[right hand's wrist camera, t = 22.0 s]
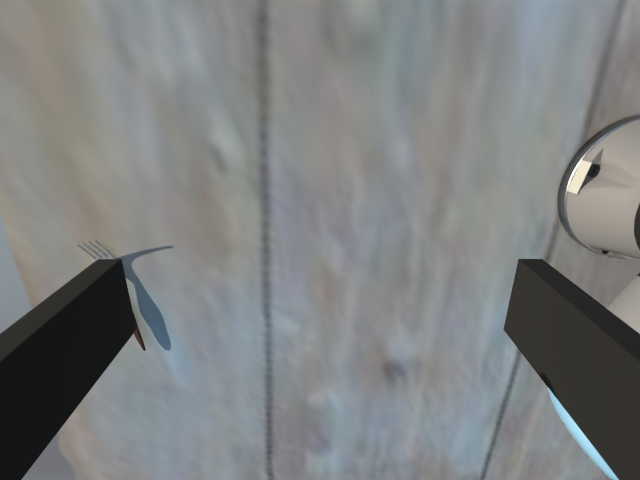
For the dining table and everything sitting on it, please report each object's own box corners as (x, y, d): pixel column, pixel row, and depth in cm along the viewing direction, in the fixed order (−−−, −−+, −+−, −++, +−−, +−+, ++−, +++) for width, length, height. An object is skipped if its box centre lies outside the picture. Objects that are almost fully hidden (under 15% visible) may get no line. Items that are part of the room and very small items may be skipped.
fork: (136, 349, 49) (129, 360, 47) (84, 237, 43) (74, 244, 41) (156, 346, 49) (149, 356, 47) (106, 233, 43) (96, 239, 41)
